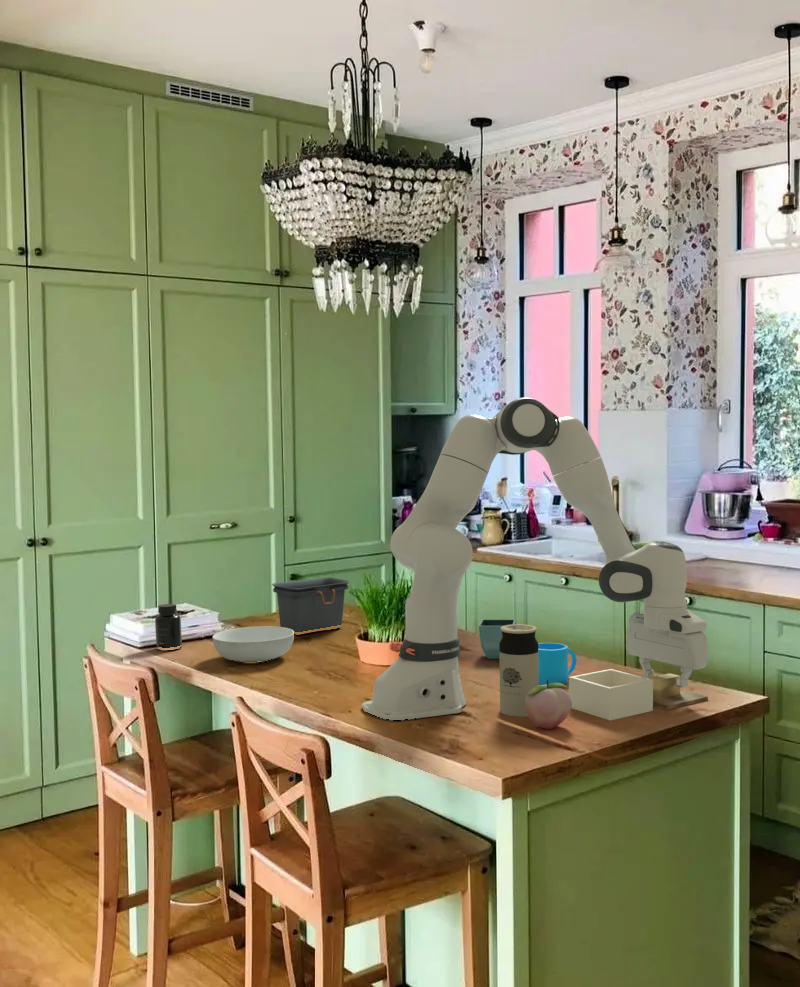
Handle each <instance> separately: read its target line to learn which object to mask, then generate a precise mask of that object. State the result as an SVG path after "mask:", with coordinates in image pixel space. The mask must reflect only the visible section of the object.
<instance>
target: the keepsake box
mask: <svg viewBox="0 0 800 987" xmlns="http://www.w3.org/2000/svg"><path fill="white" fill-rule="evenodd" d="M568 688H569V689H568V694H569V696H570V698H571V701H572V707H571V710H576V711H579V712H582V713H585V714H588V715H591V716H594V717H598V718H600V719H603V720H607V721H614V720H619V719H623V718H628V717H631V716H635V715H640V714H645V713H648V712H653V711H654V706H653V680H652V679H648V678H644V676H640V675H637V674H632V673H629V672H625V671H620V670H618V669H617V670H616V669H615V668H609V669H602V670H598V671H594V672H588V673H582V674H578V675H572V676H568Z"/></svg>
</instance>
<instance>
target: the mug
mask: <svg viewBox="0 0 800 987" xmlns="http://www.w3.org/2000/svg"><path fill="white" fill-rule="evenodd" d="M568 653H569V654H570V656H571V663H570V666H569V664H568V662H569V660H568V658H569V657H568V655H569V654H568ZM577 662H578V660H577V655H576V653H575V652H574V651H573V649H571V648H569V647H568V645H567V644H566V645H565V644H564V643H563V644H562V643H557V642H556V643H555V642H540V643H538V663H539V685H547V680H548V684H551V683H561V684H566V683H567V684H569V675H570V674H572V673H573V672H574V670H575V668H576V666H577Z"/></svg>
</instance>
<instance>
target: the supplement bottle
mask: <svg viewBox="0 0 800 987" xmlns="http://www.w3.org/2000/svg"><path fill="white" fill-rule="evenodd" d="M157 608H158V610H157V611H158V612H157V613H158V615H157V616H156V617H155V619H154V624H155V626H154V627H155V629H154V630H155V645H157V647H162V648H170V647H177V646H180V645H182V646H183V642H182V640H183V639H182V638H183V636H182V619H181V615H179V614H178V613H177V612H178V610H177V605H176V604H175V603H165V604H159V605H158V606H157ZM157 647H156V648H157Z"/></svg>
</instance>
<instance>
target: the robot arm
mask: <svg viewBox="0 0 800 987" xmlns="http://www.w3.org/2000/svg"><path fill="white" fill-rule="evenodd" d="M443 445H444V446H443V447H442V450H441V451H440V453H439V454H440V455H439V456H438V460H437V462H436V464H435V466H434V469H433V470H432V474H431V476H430V479H429V481H428V484H427V485H426V488H425V489H424V492H423V493H422V494H421V496H420V498H419V499H418V500H417V502H416V504H415V505H414V506H413V509H412V510H411V511H410V513H409V515H408V516H407V517H406V519H405V520H404V521H403V522H402V524H400V525H398V526H397V527H396V528H395V530H394V531H393V533H392V535H391V537H390V542H389V543H390V551H391V554H392V556H393V557H394V558H395V559H396V560H397V561H398V562H399V564H401V565H402V566H403V567H404V568H406V569H408V570H411V571H413V572H414V573H413V574H414V576H413V582H412V587H411V590H410V593H409V596H408V597H407V598H406V600H405V605H404V612H405V613H404V616H405V617H404V618H405V620H404V621H405V622H404V624H405V637H404V639H403V641H402V644H401V643H399V642H396V641H392V642H390V644H389V650H390V651H392V652H395V653H398V657H397V659H395V661H394V662H392V664H390V665H389V666H388V667H387V668H386V670H384V671H383V672H382V673H381V674H380V675H379V676H378V677H377V678H376V679H375V681H374V683H373V684H374V685H373V687H372V689H373V690H372V696H371V700H367V701H364V702H362V705H361V709H362V708H363V709H364V710H365V711H366V712H368V713H370V714H372V715H375V716H377V717H376V718H378V717H380V718H379V719H382V718H383V719H382V720H386V719H389V720H388V721H393V720H401V721H406V720H405V719H408V720H415V718H416V719H422V718H430V717H437V716H439V717H440V716H444V715H452V714H459V713H461V712H462V711H463V710H462V708H463V707H464V706H466V704H467V701H466V698H465V695H464V690H463V686H462V681H461V674H460V673H461V672H460V667H459V666H460V665H459V659H460V654H461V652H460V650H461V649H460V645H461V644H460V638H459V637H458V600H459V596H460V595H459V594H460V590H461V586H462V580H463V577H464V574H465V572H466V571H467V570H468V569H469V567H470V565H471V563H472V561H473V557H474V556H473V554H474V553H473V550H474V549H473V546H472V544H471V543H472V542H471V541H470V540H469V538H468V537H467V536H466V535H465V534H463V533H462V532H461V531H459V530H458V529H457V528H458V526H459V524H460V523H461V522H462V521H463V520H464V518H465V517H466V516H467V515H468V514H469V513H470V512H471V511H472V510H473V509H474V508H475V506H476V505H477V502H478V500H479V497H480V495H481V492H482V489H483V487H484V484H485V482H486V479H487V476H488V474H489V472H490V470H491V466H492V464H493V462H494V460H495V458H496V457H497V455H498V454H501V455H502V454H505V455H512V456H516V455H517V456H518V455H522V454H525V453H528V452H531V451H536V452H538V453H539V454H540V455H541V456H542V457H543V458H544V460H545V461H546V463H547V464H548V466H549V470H550V472H551V476H553V477H552V478H553V481H554V482H555V484H556V486H557V488H558V491H559V492H560V494H561V495H562V497H563V499H564V501H566V503H567V504H568V505H569V506H570V507H573V508H575V510H578V511H579V512H581V513H582V514H583V515H584V516H585V517H586V518H587V520H588V521H589V522H590V524H591V526H592V528H593V530H594V532H595V535H596V537H597V539H598V541H599V543H600V545H601V548H602V550H603V552H604V554H605V560H606V561H605V565H604V566H603V567H602V569H601V570H600V572H599V575H598V585H599V589H600V590H601V592H602V594H603V595H604V596H605V598H607V599H609V600H611V601H613V602H615V603H628V602H635V601H641V600H643V613H639V612H634V613H633V614H631V615H630V617H629V618H628V627H627V630H626V631H627V633H626V640H625V641H626V642H625V649H626V652H627V653H628V655H631V656H636V657H639V659H638V661H639V664H640V666H641V668H642V671H643V677H644V678H648V679H650V677H654V676H655V670H654V669H653V668H652V667H651V663H650V662H651V661H657V662H661V663H664V664H669V665H673V666H676V667H680V669H679V670H680V671H679V672H681V674H680V678H677V686H678V687H680V688H681V689H682V688H688V686H689V678H690V676H691V674H692V672H693V671H694V670H696V671H697V670H701V669H705V667H706V666H707V665H708V660H709V659H708V658H709V652H708V651H709V649H708V648H709V647H708V639H707V636H706V634H705V633H704V631H706V630H707V622H706V620H704V619H702V618H701V617H700V616H697V615H696V614H695V613H694V612H692V611H691V610H689V609H687V608H688V603H687V598H686V589H687V585H688V573H687V560H686V556H685V553H684V551H683V550H682V548H681V547H680V546H679V545H676V544H674V543H671V542H666V541H660V540H659V541H658V540H652V541H649V542H647V543H646V544H645V545H643V546H641V547H640V548H638V549H637V547H636V546H634V543H633V542H632V541H631V538H630V536H629V534H628V532H627V530H626V528H625V526H624V523H623V521H622V519H621V516H620V514H619V512H618V510H617V507H616V504H615V501H614V496H613V493H612V488H611V484H610V480H609V476H608V473H607V470H606V466H605V464H604V461H603V459H602V457H601V454H600V451H599V449H598V448H597V446H596V443H595V442H594V440H593V437H592V436H591V434H590V432H589V430H587V428H586V427H585V425H584V424H583V422H582V421H581V420H580V419H578V418H576V417H574V416H563V417H558V415H557V414H556V413H554V412H553V411H551V410H550V409H549V408H548V407H547V406H545V404H543V403H542V402H541V401H539V400H538V399H535V398H532V397H519V398H516V399H514V400H512V401H510V402H509V403H507V404H506V405H504V406H503V407H502V408H501V409H500V410H499V411H498V412H497V413H496V414H495V415H494V416H493V417H492V418H490V417H485V416H481V415H479V414H467V415H464V416H463V417H461V418H460V419H459V420H458V421H457V422H456V424H455V426H454V427H453V428H452V430H451V432H450V434H449V435H448V437H447V439H446V441H445V443H444V444H443ZM365 711H364V712H365ZM366 712H365V713H366ZM368 713H367V714H368ZM370 714H369V715H370ZM372 715H371V716H372ZM375 716H374V717H375Z"/></svg>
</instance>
